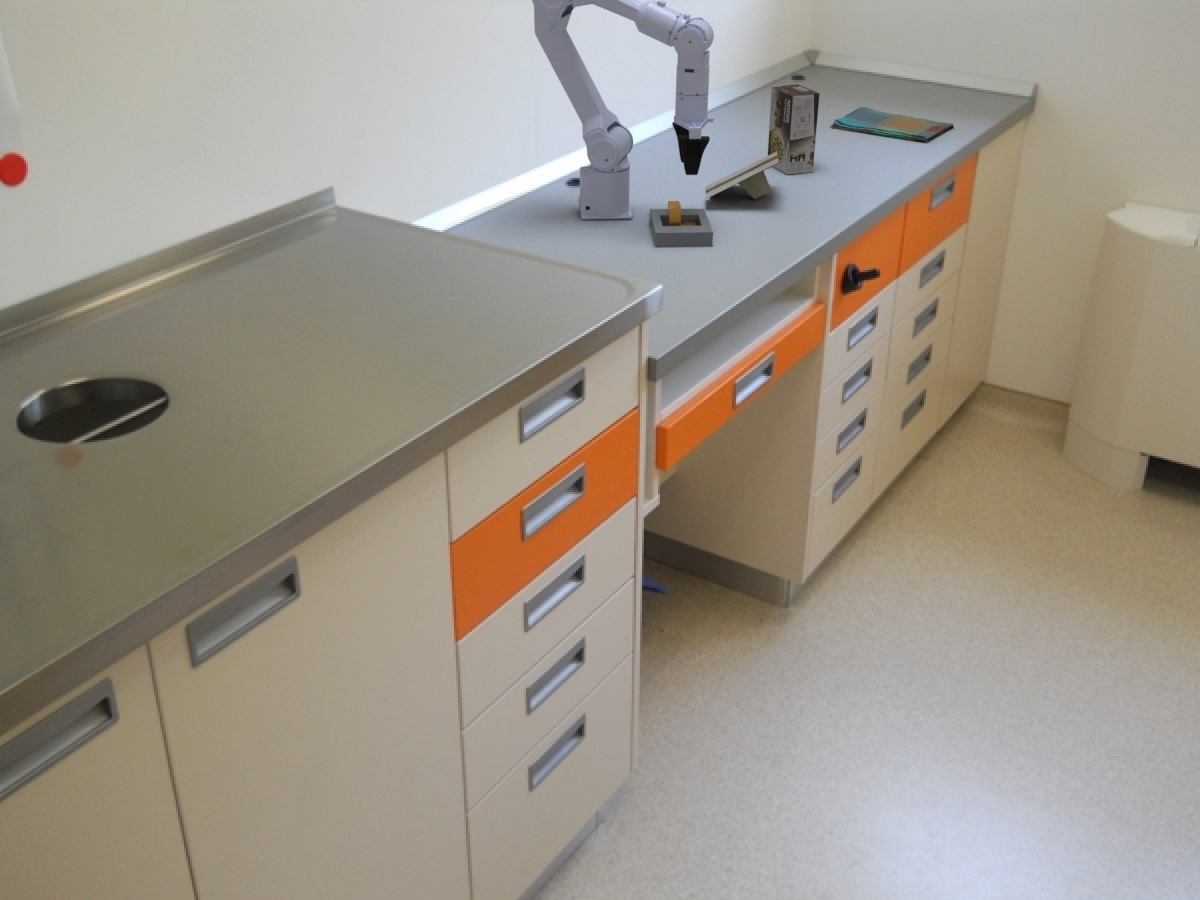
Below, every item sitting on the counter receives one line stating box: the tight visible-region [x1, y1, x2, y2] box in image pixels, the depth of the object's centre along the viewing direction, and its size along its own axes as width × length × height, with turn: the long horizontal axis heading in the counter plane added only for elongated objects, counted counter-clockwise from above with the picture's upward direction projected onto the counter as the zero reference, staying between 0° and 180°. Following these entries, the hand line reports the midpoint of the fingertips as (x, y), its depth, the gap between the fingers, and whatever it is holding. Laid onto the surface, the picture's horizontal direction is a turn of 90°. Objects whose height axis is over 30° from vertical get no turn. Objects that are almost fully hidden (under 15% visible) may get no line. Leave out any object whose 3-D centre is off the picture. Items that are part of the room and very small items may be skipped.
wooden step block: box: [667, 200, 696, 226], centre depth 227 cm, size 5×4×6 cm
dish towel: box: [830, 106, 955, 144], centre depth 293 cm, size 17×23×2 cm
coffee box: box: [767, 83, 821, 176], centre depth 261 cm, size 9×6×16 cm
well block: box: [648, 208, 714, 248], centre depth 228 cm, size 10×13×2 cm
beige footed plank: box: [705, 152, 780, 200], centre depth 245 cm, size 16×9×15 cm
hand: (689, 168), depth 230 cm, fingers open, 7 cm apart
